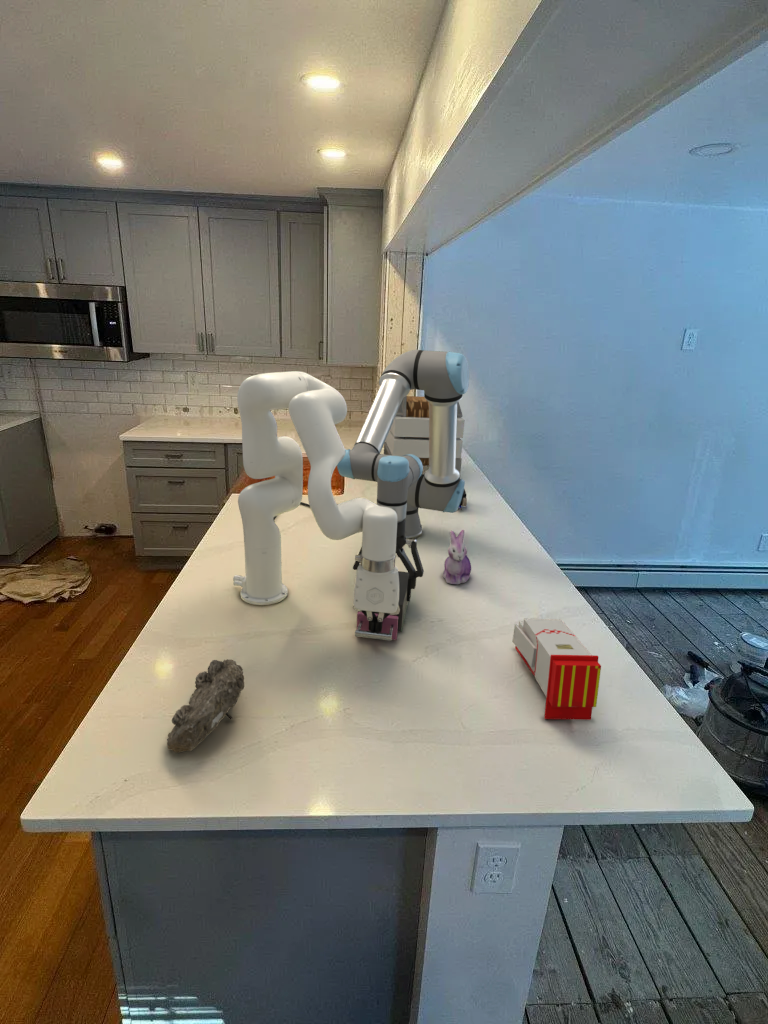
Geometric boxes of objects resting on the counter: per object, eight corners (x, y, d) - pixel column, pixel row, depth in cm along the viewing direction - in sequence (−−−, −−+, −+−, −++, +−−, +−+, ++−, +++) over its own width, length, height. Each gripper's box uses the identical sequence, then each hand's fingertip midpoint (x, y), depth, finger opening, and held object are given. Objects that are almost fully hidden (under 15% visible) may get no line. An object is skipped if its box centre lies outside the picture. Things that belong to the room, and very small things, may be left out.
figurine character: (467, 515, 225) (461, 499, 238) (469, 498, 221) (463, 482, 235) (450, 514, 224) (445, 498, 238) (452, 497, 221) (447, 482, 234)
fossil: (192, 660, 117) (244, 628, 112) (224, 691, 120) (276, 661, 115) (142, 746, 98) (202, 712, 93) (182, 779, 101) (242, 748, 96)
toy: (557, 603, 136) (610, 662, 107) (552, 655, 139) (602, 726, 109) (507, 602, 136) (546, 661, 106) (503, 654, 138) (540, 725, 109)
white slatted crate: (382, 463, 289) (386, 382, 275) (445, 464, 293) (451, 384, 279) (390, 482, 257) (394, 392, 243) (460, 483, 261) (468, 394, 247)
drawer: (393, 654, 130) (394, 632, 127) (351, 648, 131) (352, 627, 129) (404, 605, 149) (405, 586, 146) (368, 601, 150) (368, 582, 148)
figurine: (453, 588, 162) (457, 540, 157) (434, 573, 170) (437, 527, 165) (479, 582, 166) (485, 535, 161) (459, 568, 175) (464, 523, 170)
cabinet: (401, 632, 139) (402, 605, 136) (357, 626, 141) (358, 599, 138) (409, 597, 154) (410, 572, 151) (369, 593, 156) (370, 568, 153)
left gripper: (341, 565, 123) (340, 638, 130) (410, 572, 121) (405, 646, 128) (348, 552, 130) (347, 621, 137) (413, 558, 128) (408, 628, 135)
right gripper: (342, 518, 140) (340, 598, 147) (436, 527, 137) (429, 608, 144) (348, 509, 147) (346, 585, 154) (438, 517, 144) (432, 595, 151)
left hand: (375, 633), depth 132 cm, fingers closed
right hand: (386, 596), depth 149 cm, fingers closed on cabinet, 11 cm apart
